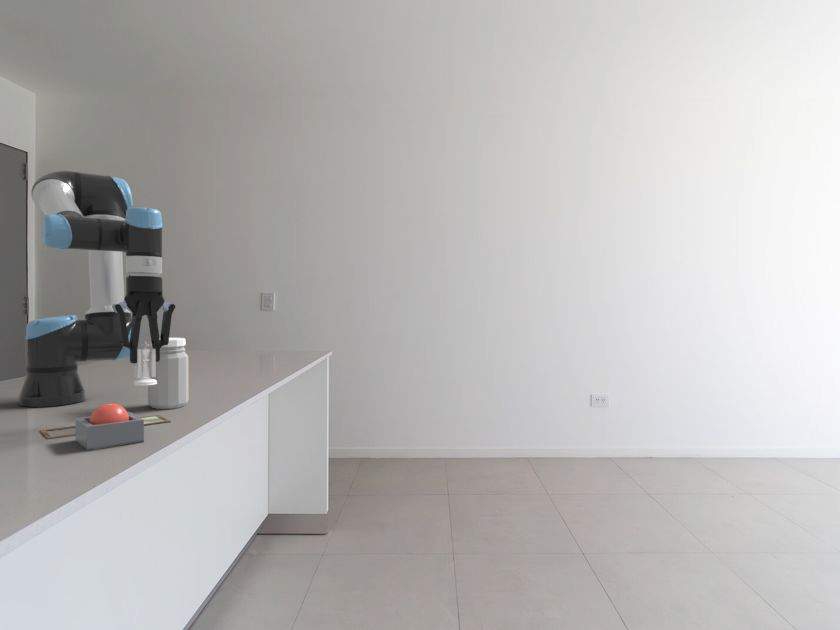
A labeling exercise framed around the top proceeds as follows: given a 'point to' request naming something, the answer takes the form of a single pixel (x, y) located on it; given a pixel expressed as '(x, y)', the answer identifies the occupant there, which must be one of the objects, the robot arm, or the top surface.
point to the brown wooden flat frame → (147, 420)
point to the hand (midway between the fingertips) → (145, 376)
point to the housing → (109, 433)
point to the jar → (170, 377)
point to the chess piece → (145, 369)
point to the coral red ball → (108, 414)
